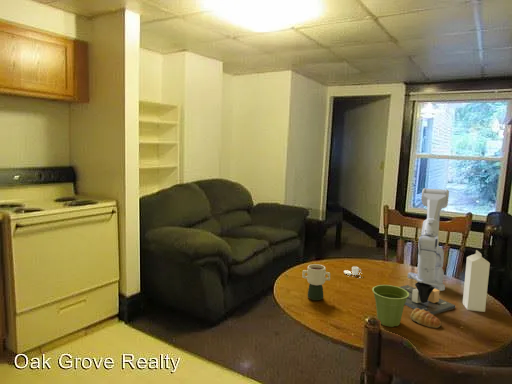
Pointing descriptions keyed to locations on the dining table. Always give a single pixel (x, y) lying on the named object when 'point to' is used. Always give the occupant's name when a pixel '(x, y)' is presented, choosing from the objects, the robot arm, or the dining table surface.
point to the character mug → (316, 280)
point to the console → (427, 303)
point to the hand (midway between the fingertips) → (423, 302)
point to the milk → (476, 282)
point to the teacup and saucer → (353, 271)
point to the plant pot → (389, 304)
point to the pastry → (425, 318)
